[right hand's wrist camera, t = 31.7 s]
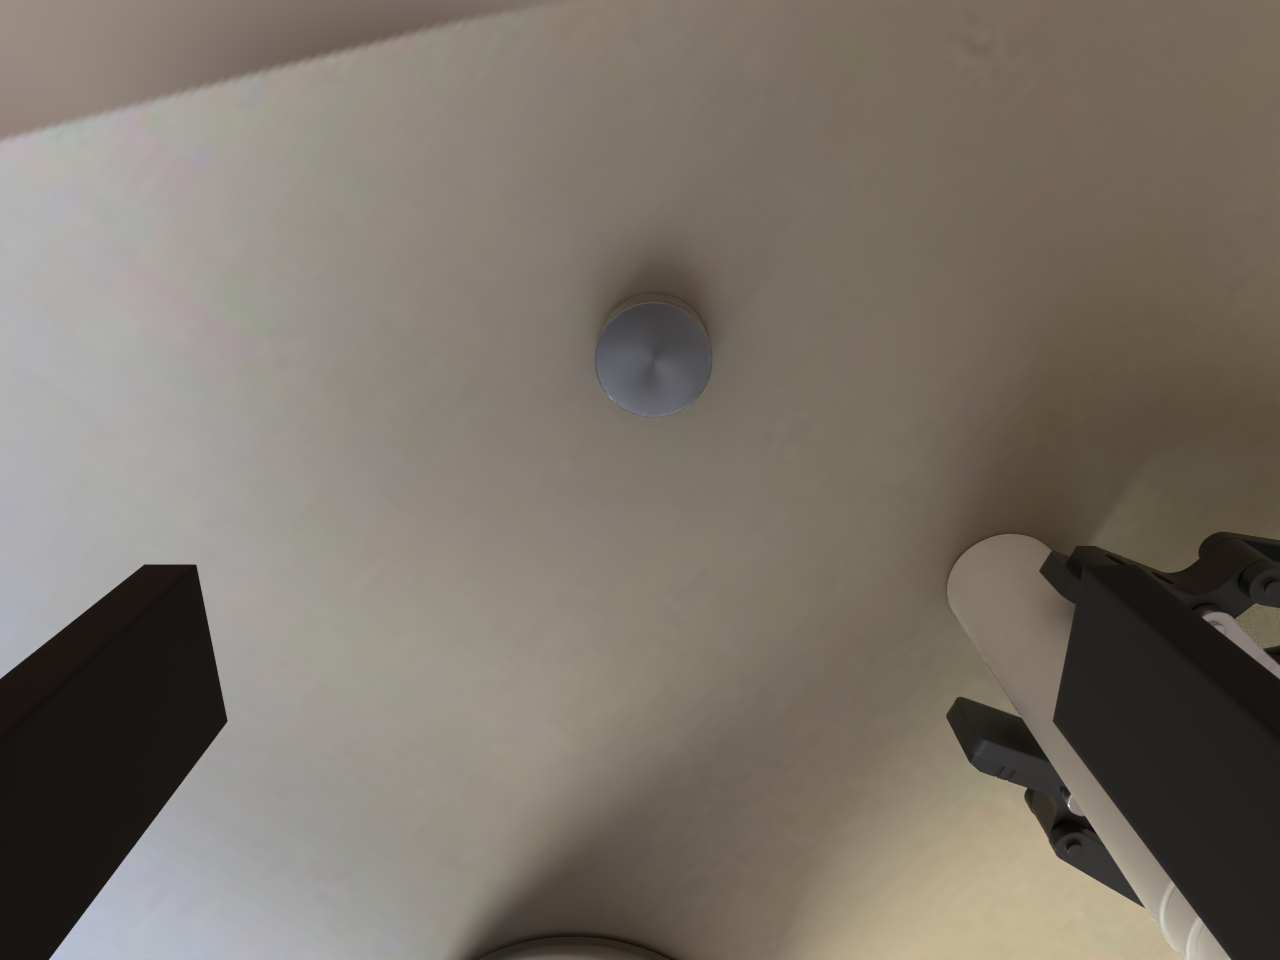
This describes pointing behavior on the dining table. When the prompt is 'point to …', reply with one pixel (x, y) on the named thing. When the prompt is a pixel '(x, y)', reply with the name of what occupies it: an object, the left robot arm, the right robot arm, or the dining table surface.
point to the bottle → (1030, 676)
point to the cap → (653, 355)
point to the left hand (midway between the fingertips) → (1006, 652)
